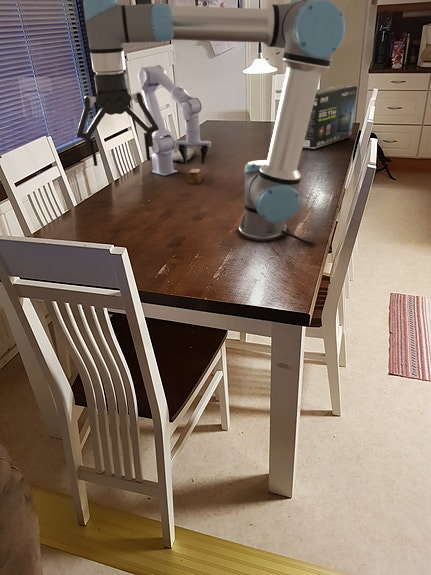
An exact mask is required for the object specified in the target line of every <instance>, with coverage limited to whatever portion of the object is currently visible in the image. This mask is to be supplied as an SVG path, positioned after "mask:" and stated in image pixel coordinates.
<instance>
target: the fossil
mask: <svg viewBox="0 0 431 575" xmlns="http://www.w3.org/2000/svg"><path fill="white" fill-rule="evenodd" d="M178 148H179V146H176V144H175V148H174V149H173V152H172V159H173V162H177V161H179V162H180V163H184V160H183V157H182V155H181V153H180V152H179V150H178ZM198 153H199V150H198V148H197V146H187V161H188V160H190V159H191V158H192V157H193V156H194V155H197V154H198Z"/></svg>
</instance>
